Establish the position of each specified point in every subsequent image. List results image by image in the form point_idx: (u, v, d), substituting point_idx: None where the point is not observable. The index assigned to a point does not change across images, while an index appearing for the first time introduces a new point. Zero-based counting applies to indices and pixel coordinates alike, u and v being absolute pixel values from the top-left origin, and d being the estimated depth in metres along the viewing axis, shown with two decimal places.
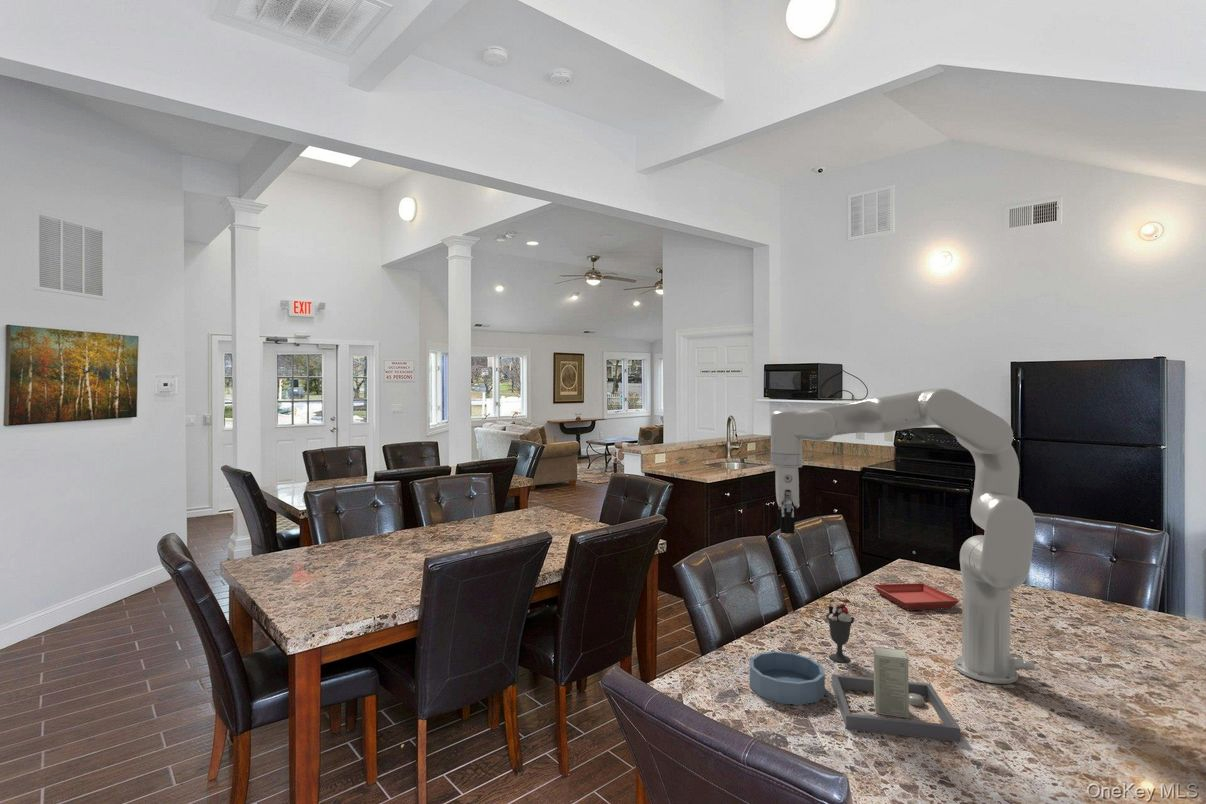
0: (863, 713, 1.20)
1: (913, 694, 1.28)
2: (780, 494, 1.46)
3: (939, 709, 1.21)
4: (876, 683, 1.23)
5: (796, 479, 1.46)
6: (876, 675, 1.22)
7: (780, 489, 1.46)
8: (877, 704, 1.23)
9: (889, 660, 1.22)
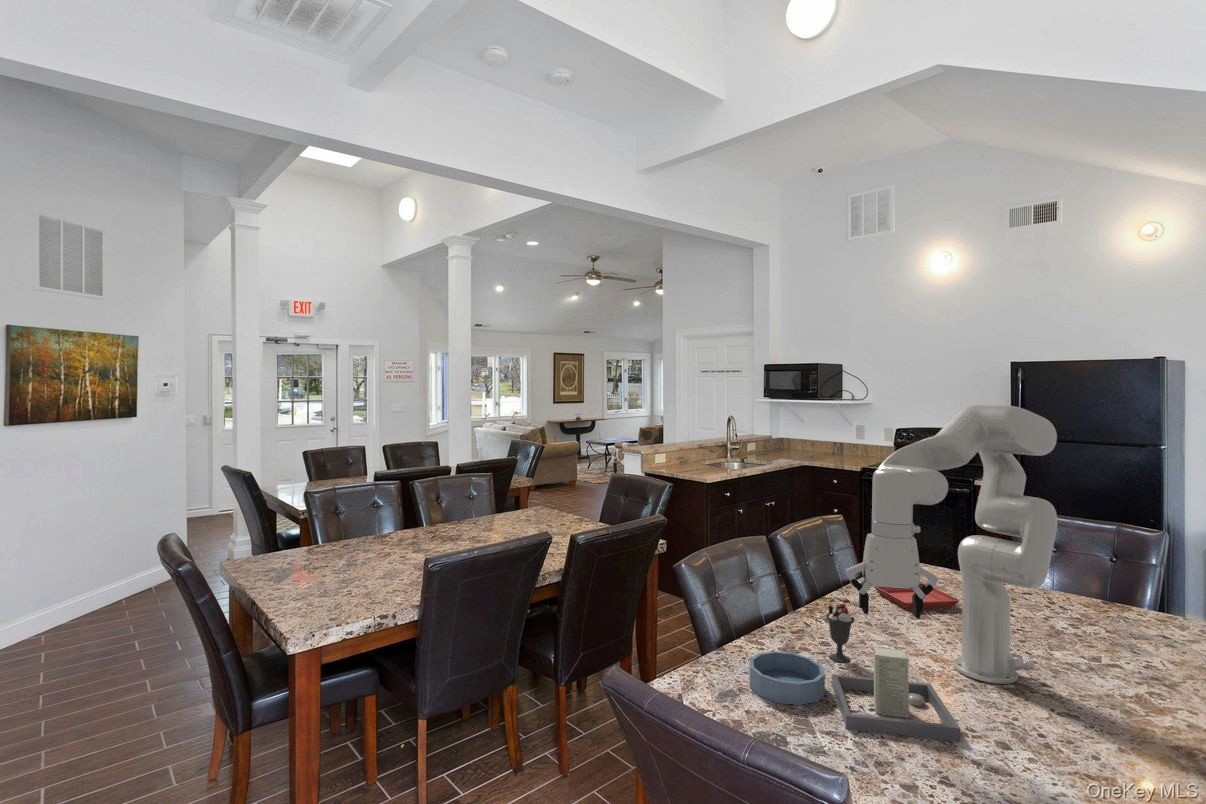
0: (863, 713, 1.20)
1: (913, 694, 1.28)
2: None
3: (939, 709, 1.21)
4: (876, 683, 1.23)
5: None
6: (876, 675, 1.22)
7: (919, 566, 1.20)
8: (877, 704, 1.23)
9: (889, 660, 1.22)
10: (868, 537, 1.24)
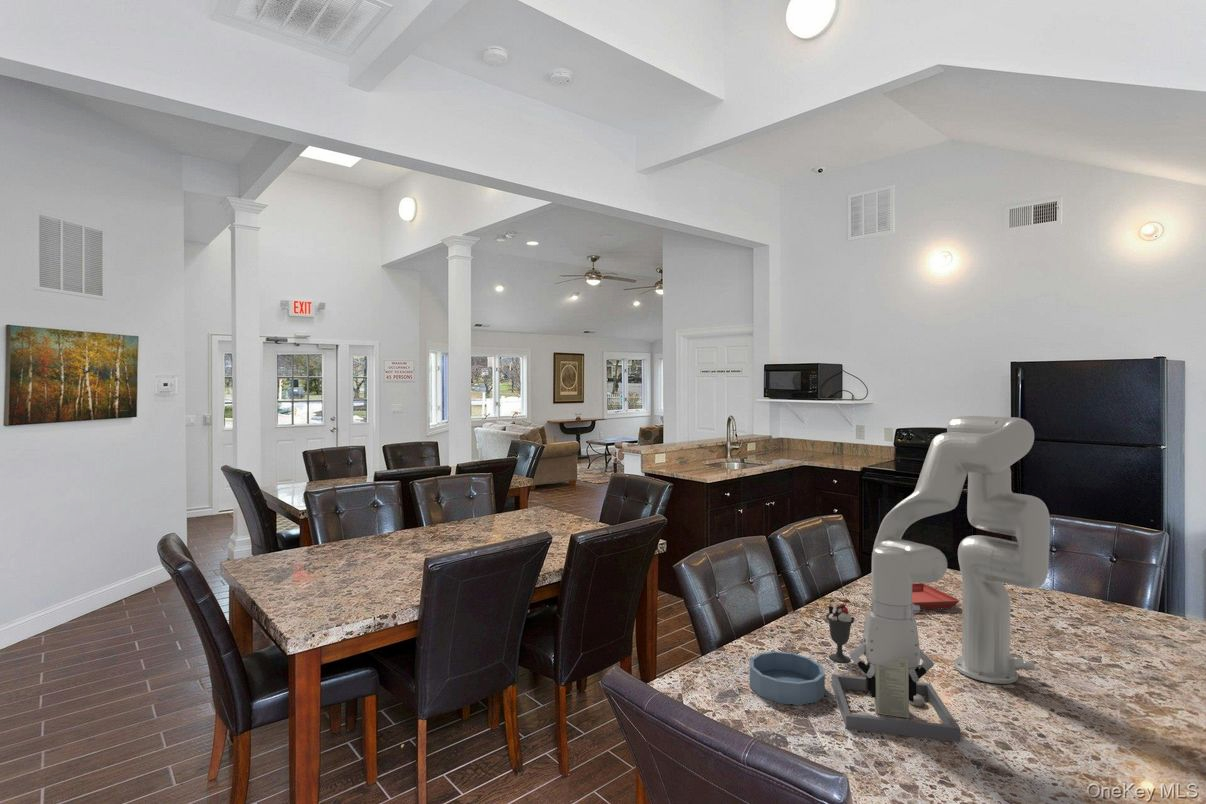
0: (863, 713, 1.20)
1: None
2: (919, 652, 1.21)
3: (939, 709, 1.21)
4: (876, 683, 1.22)
5: None
6: (876, 675, 1.22)
7: None
8: (877, 704, 1.22)
9: None
10: (868, 615, 1.24)
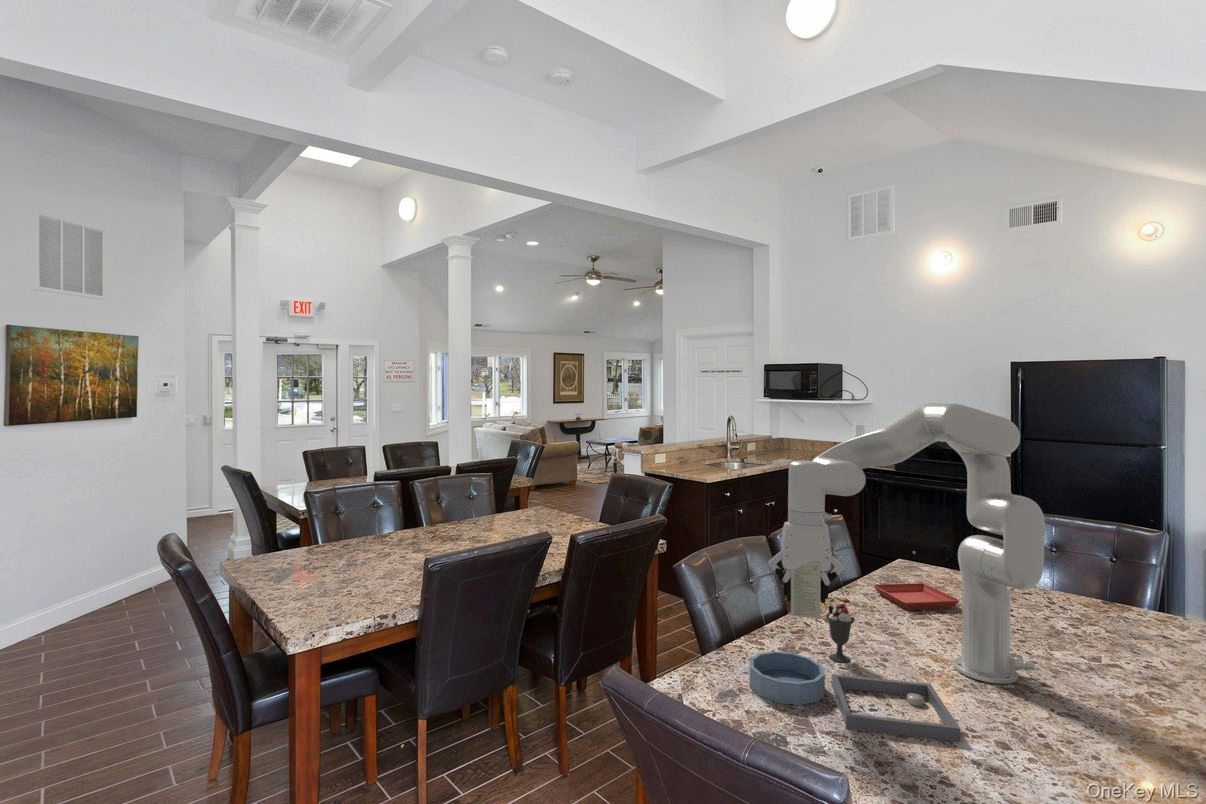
0: (863, 713, 1.20)
1: (913, 694, 1.28)
2: (830, 557, 1.29)
3: (939, 709, 1.21)
4: (791, 587, 1.30)
5: None
6: (791, 579, 1.30)
7: (830, 551, 1.29)
8: (792, 607, 1.30)
9: (803, 565, 1.29)
10: (784, 525, 1.32)
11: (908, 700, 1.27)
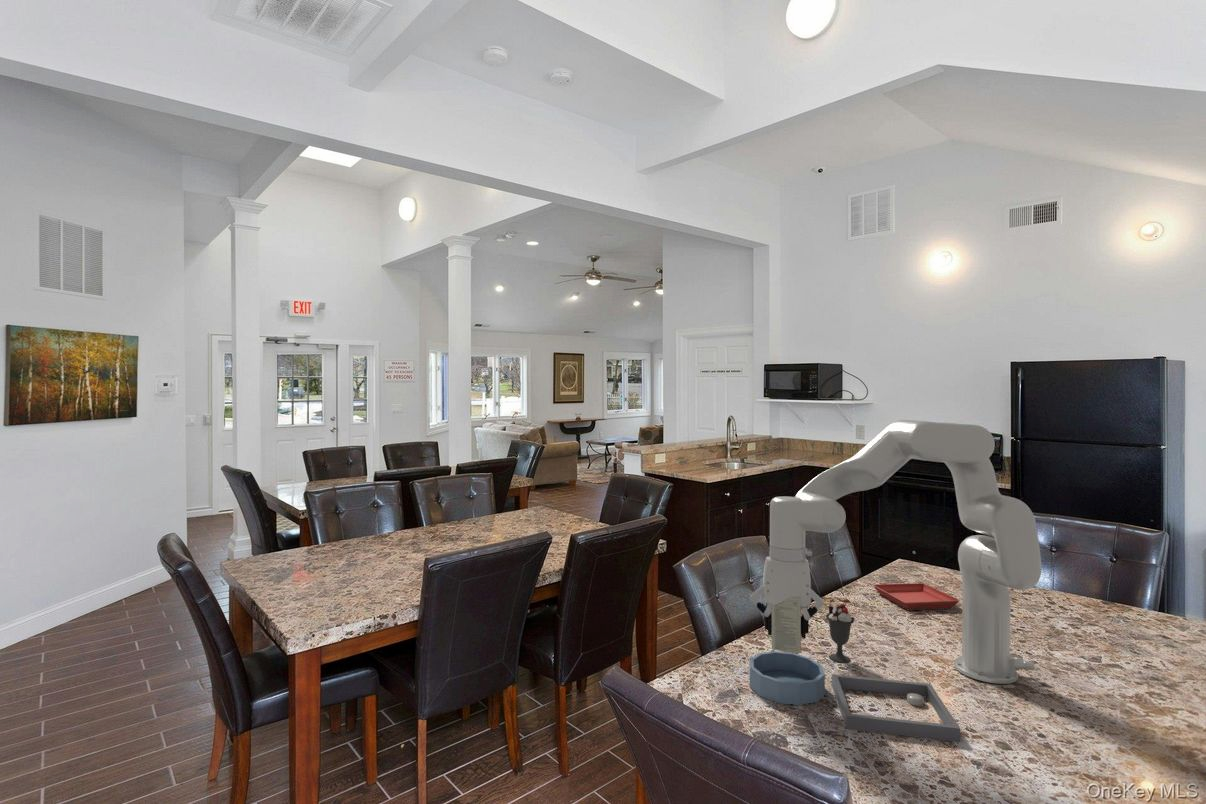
0: (863, 713, 1.20)
1: (913, 694, 1.28)
2: (810, 593, 1.31)
3: (939, 709, 1.21)
4: (772, 621, 1.33)
5: None
6: (772, 614, 1.32)
7: (810, 587, 1.31)
8: (773, 641, 1.32)
9: None
10: (766, 560, 1.34)
11: (908, 700, 1.27)
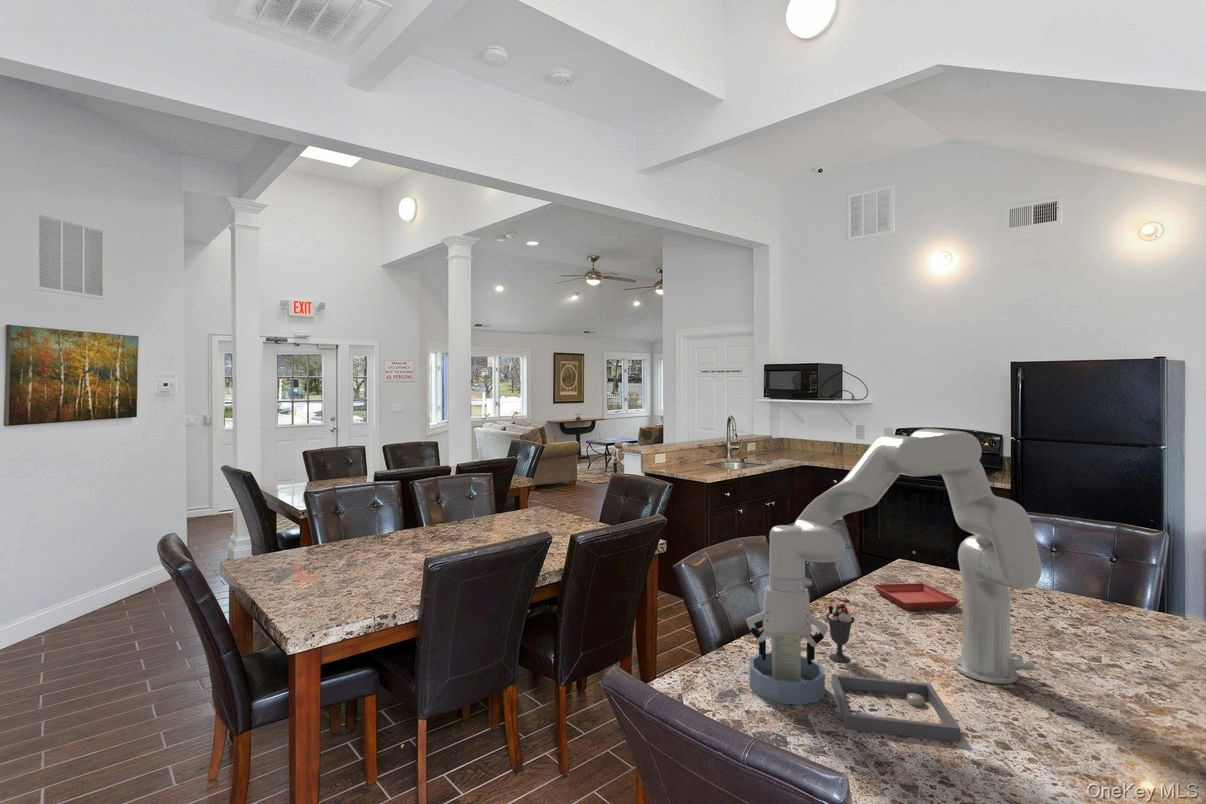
0: (863, 713, 1.20)
1: (913, 694, 1.28)
2: (810, 622, 1.31)
3: (939, 709, 1.21)
4: (772, 658, 1.33)
5: None
6: (772, 651, 1.32)
7: (810, 617, 1.31)
8: (773, 677, 1.33)
9: (784, 637, 1.32)
10: (766, 589, 1.34)
11: (908, 700, 1.27)
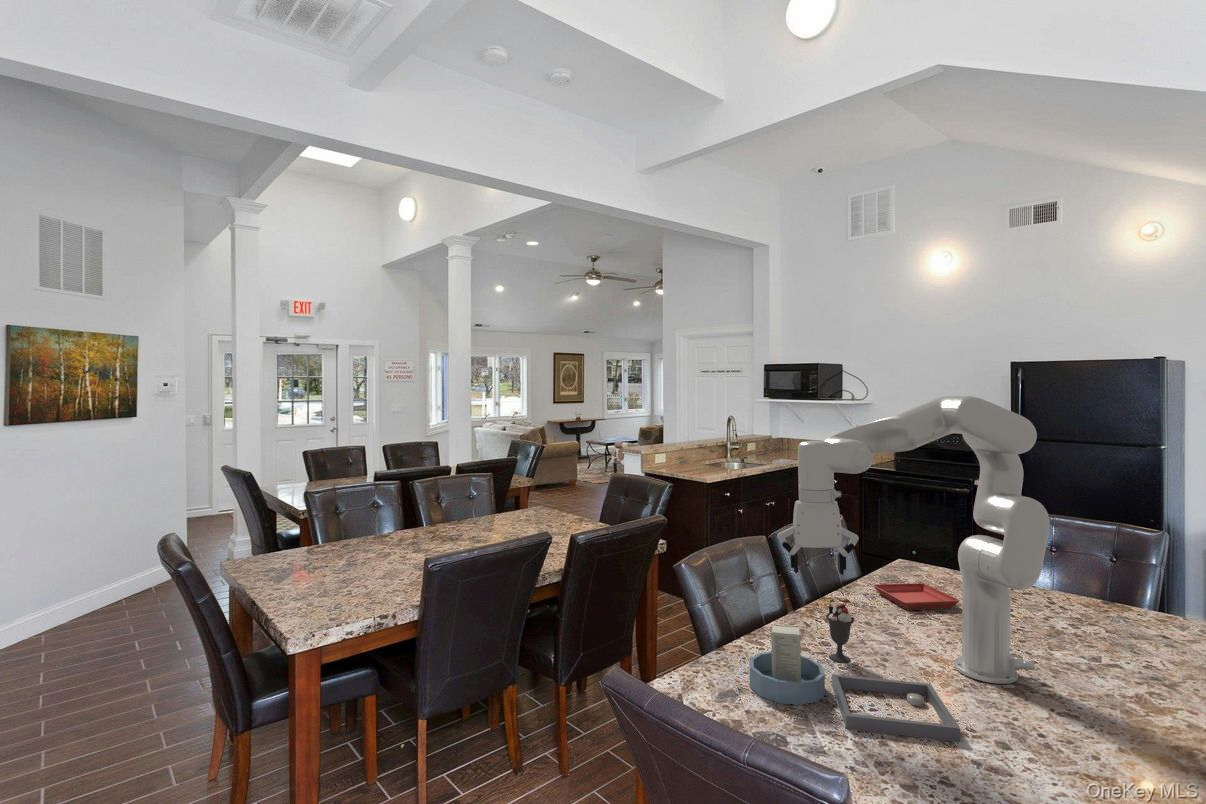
0: (863, 713, 1.20)
1: (913, 694, 1.28)
2: (841, 533, 1.33)
3: (939, 709, 1.21)
4: (772, 658, 1.33)
5: None
6: (772, 651, 1.32)
7: (841, 527, 1.33)
8: (773, 677, 1.33)
9: (783, 637, 1.32)
10: (795, 503, 1.37)
11: (908, 700, 1.27)
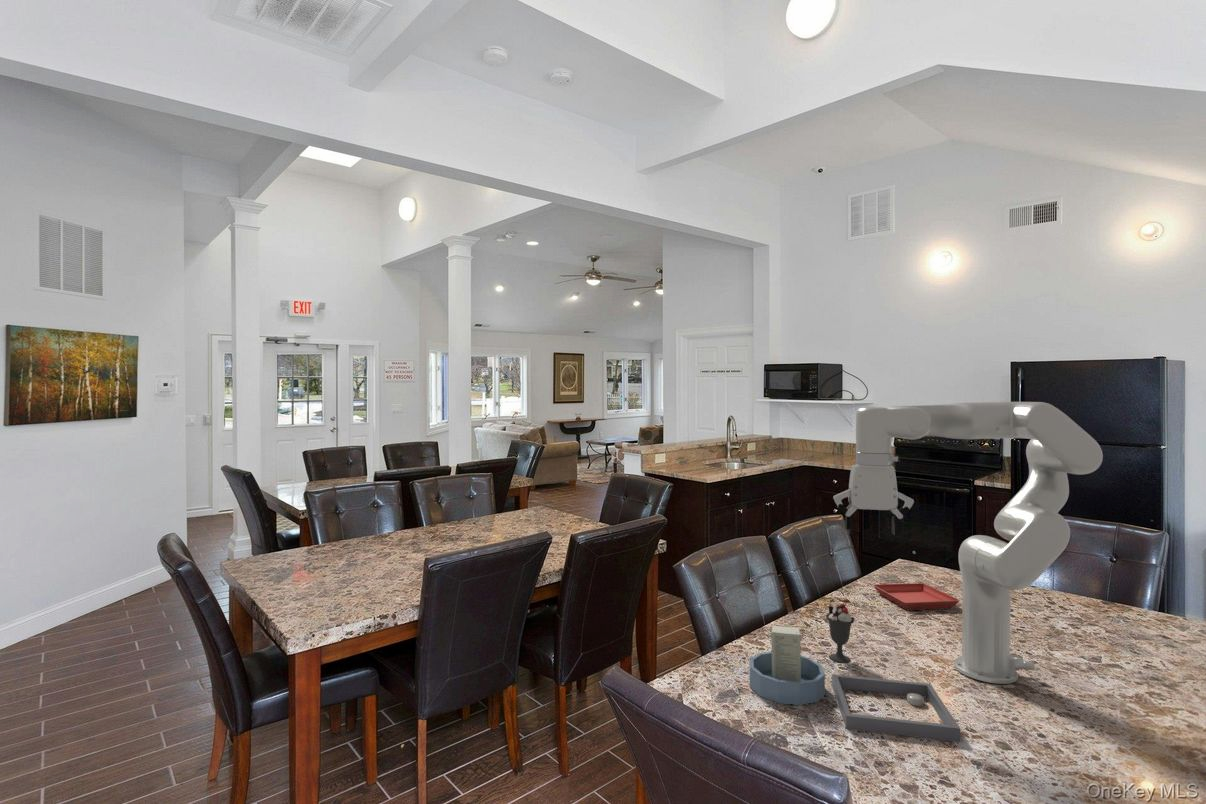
0: (863, 713, 1.20)
1: (913, 694, 1.28)
2: (897, 495, 1.38)
3: (939, 709, 1.21)
4: (772, 658, 1.33)
5: None
6: (772, 651, 1.32)
7: None
8: (773, 677, 1.33)
9: (783, 637, 1.32)
10: (853, 467, 1.41)
11: (908, 700, 1.27)
